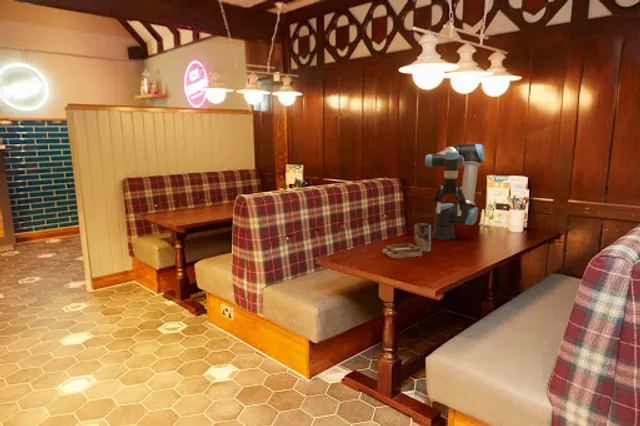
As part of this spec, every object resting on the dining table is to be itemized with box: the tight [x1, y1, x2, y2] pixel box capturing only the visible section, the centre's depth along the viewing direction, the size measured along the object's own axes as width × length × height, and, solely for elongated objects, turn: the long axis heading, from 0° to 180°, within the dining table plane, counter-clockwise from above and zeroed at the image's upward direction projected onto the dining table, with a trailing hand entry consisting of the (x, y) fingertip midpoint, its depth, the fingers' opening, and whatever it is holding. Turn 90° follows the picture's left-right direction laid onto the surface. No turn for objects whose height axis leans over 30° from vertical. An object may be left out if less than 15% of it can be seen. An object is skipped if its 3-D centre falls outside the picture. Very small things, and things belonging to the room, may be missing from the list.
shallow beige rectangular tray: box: [382, 242, 424, 259], centre depth 256 cm, size 14×19×4 cm
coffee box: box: [413, 222, 432, 253], centre depth 264 cm, size 9×6×16 cm
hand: (448, 214), depth 253 cm, fingers open, 13 cm apart
